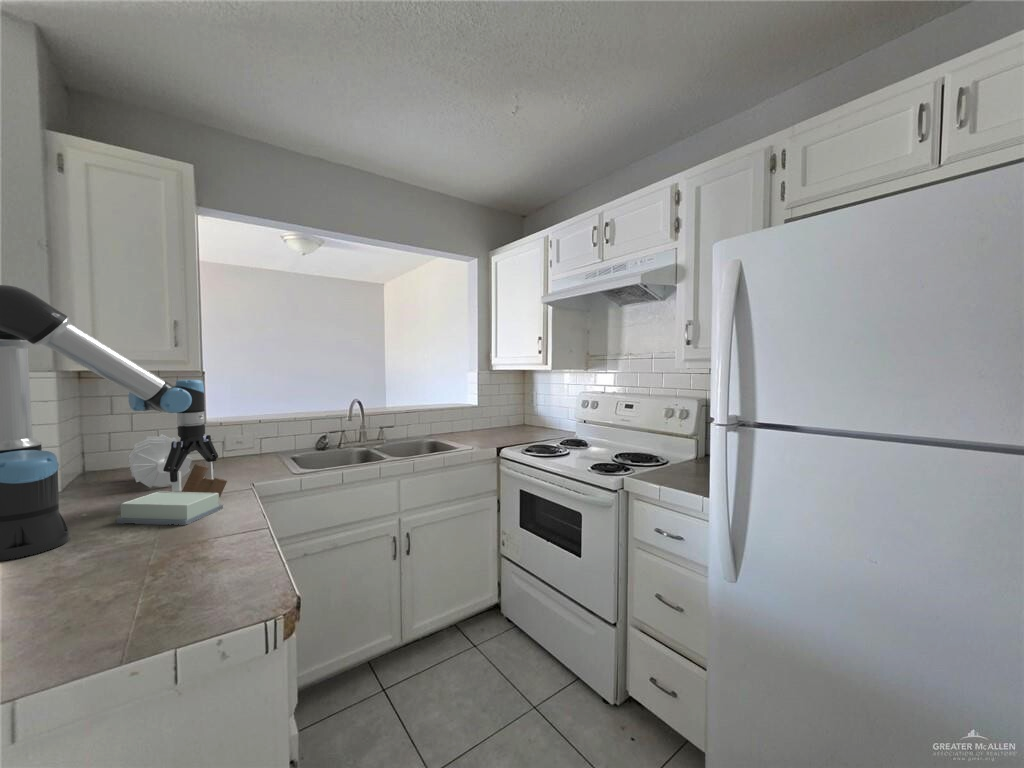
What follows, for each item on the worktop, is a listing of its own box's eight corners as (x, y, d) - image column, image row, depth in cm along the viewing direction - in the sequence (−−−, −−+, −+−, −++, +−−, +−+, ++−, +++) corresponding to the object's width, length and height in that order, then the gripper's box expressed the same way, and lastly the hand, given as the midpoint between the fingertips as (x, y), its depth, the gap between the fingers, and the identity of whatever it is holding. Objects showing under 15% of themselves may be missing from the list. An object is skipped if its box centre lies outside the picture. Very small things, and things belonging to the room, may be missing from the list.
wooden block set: (223, 503, 143) (236, 474, 146) (196, 500, 136) (210, 469, 139) (198, 493, 152) (211, 466, 155) (172, 489, 145) (186, 461, 148)
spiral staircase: (149, 502, 149) (142, 484, 166) (203, 473, 160) (191, 460, 177) (117, 460, 142) (114, 447, 160) (176, 434, 153) (167, 424, 170)
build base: (185, 525, 117) (185, 506, 117) (115, 523, 118) (115, 504, 118) (222, 508, 131) (222, 491, 131) (160, 507, 132) (159, 490, 132)
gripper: (170, 430, 129) (172, 496, 130) (228, 419, 154) (230, 475, 155) (147, 429, 130) (149, 496, 131) (209, 419, 155) (211, 475, 156)
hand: (193, 485), depth 143 cm, fingers open, 13 cm apart
